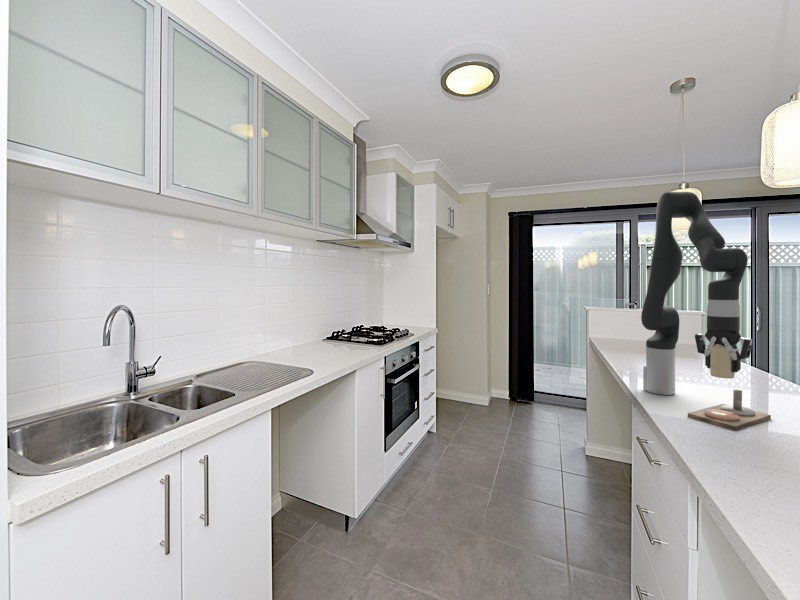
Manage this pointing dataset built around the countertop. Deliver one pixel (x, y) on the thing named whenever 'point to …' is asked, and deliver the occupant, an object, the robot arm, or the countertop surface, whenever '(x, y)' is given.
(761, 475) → the countertop surface
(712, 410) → the pad
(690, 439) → the countertop surface
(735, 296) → the robot arm
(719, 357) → the candle
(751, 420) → the board
